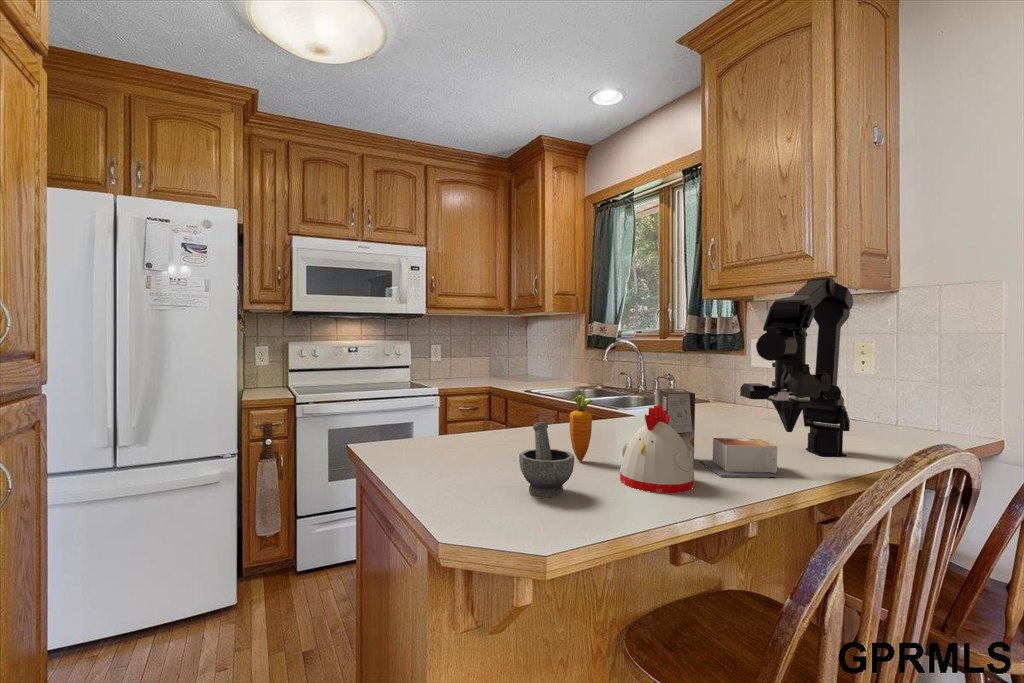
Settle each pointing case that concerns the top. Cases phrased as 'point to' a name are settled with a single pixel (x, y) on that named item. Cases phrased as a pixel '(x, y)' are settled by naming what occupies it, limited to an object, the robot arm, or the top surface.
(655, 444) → the kitchen timer
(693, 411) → the coffee box
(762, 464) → the small box
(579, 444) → the carrot
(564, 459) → the mortar and pestle
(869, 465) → the top surface
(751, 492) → the top surface
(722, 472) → the mat
